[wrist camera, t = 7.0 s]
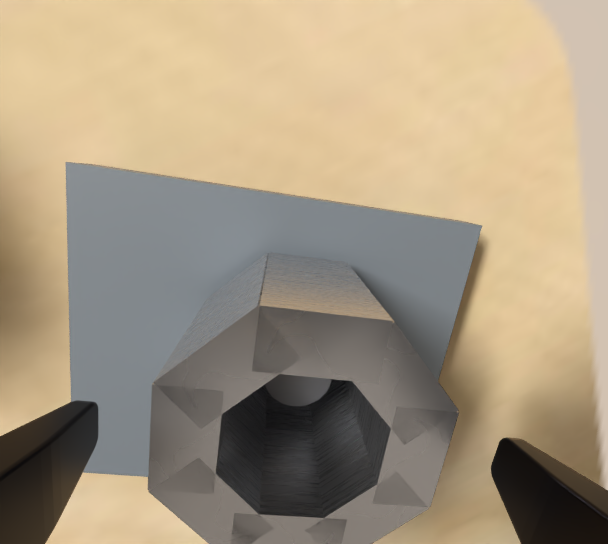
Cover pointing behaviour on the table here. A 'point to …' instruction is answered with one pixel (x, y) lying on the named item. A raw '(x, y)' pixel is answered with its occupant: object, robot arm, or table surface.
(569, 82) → the table surface
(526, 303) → the table surface
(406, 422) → the hub
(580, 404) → the table surface
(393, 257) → the block
